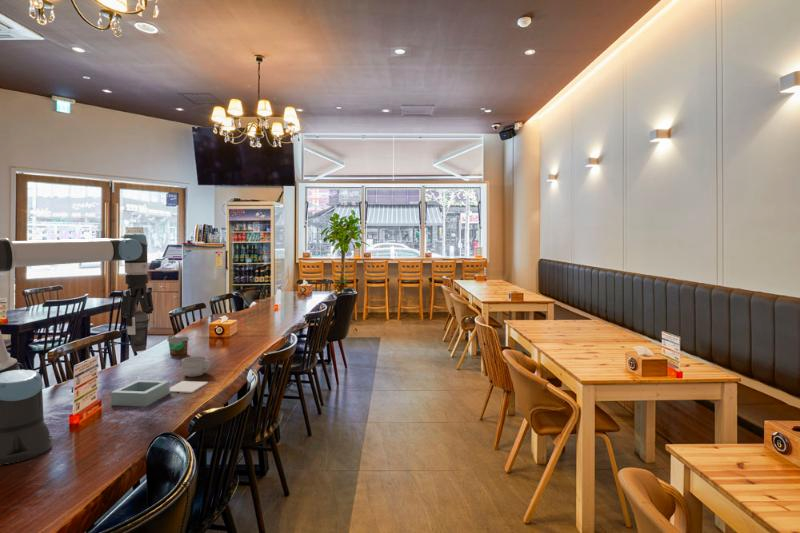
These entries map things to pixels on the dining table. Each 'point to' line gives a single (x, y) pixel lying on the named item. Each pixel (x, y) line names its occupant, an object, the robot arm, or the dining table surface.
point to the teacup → (195, 365)
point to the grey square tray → (140, 393)
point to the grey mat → (187, 386)
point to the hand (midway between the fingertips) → (138, 332)
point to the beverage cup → (140, 331)
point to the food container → (178, 345)
